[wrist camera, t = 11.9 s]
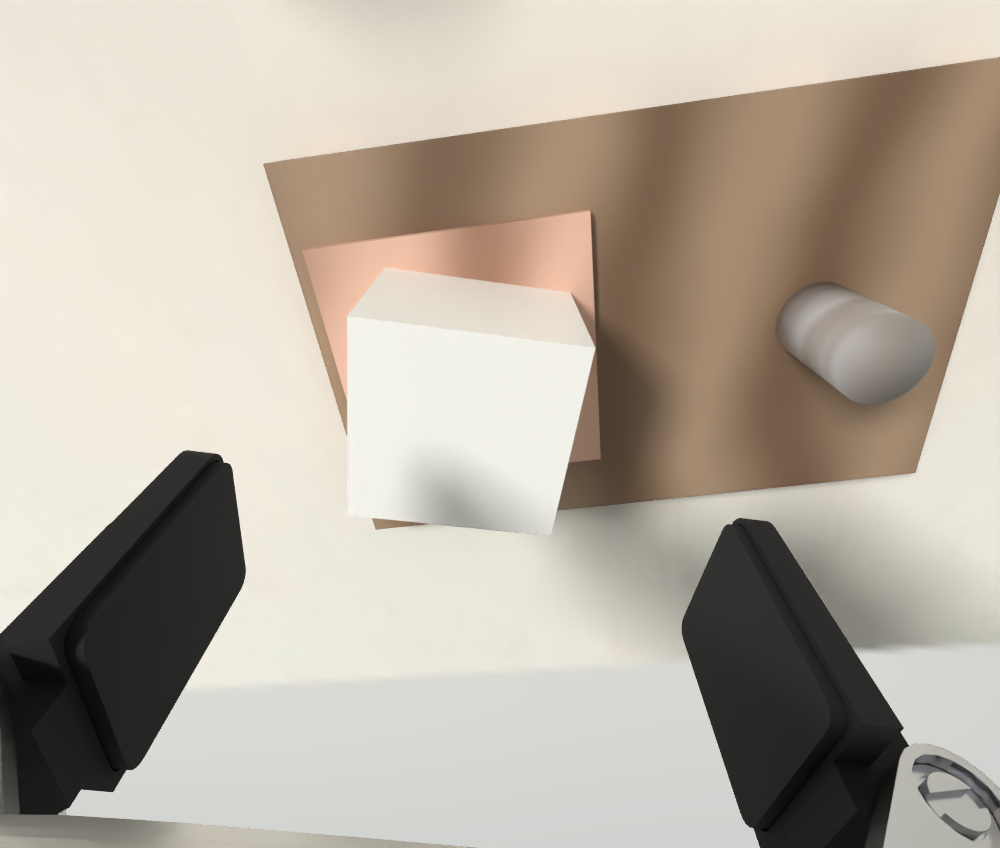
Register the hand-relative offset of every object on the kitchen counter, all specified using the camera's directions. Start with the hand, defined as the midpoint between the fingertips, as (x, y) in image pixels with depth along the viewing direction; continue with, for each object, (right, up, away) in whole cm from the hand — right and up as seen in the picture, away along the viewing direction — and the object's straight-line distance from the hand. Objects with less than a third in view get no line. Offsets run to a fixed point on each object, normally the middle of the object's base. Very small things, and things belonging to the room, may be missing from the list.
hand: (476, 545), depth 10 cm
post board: (+5, +6, +10) cm, 12 cm away
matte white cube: (-1, +4, +8) cm, 9 cm away
